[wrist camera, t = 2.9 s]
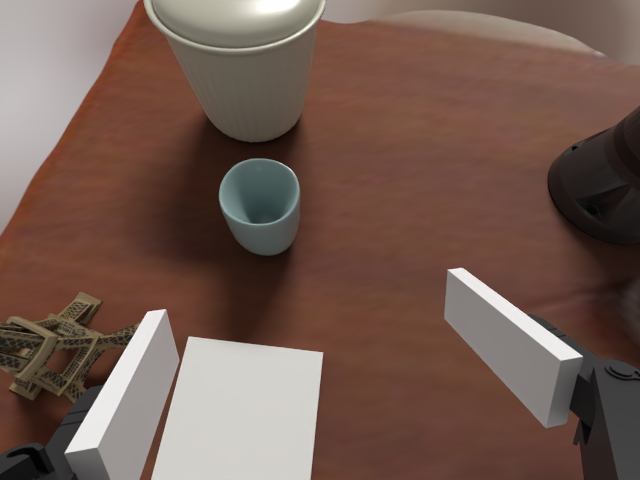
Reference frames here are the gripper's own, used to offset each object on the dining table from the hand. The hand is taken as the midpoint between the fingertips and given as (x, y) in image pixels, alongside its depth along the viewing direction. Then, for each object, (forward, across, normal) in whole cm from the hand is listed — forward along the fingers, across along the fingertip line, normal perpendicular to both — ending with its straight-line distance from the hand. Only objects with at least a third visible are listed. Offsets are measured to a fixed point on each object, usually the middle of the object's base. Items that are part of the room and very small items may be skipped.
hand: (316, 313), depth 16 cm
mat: (+12, -7, -19) cm, 24 cm away
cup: (+26, -2, -5) cm, 27 cm away
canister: (+40, -2, +10) cm, 41 cm away
